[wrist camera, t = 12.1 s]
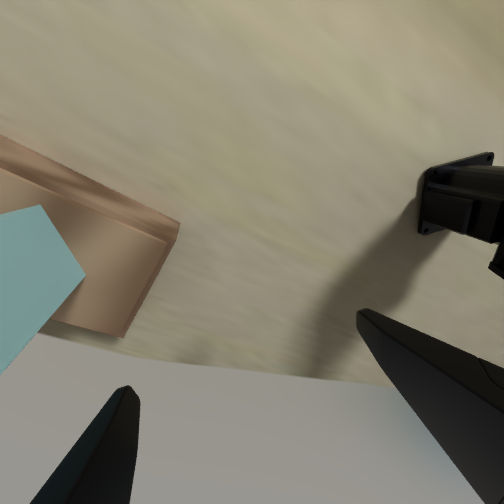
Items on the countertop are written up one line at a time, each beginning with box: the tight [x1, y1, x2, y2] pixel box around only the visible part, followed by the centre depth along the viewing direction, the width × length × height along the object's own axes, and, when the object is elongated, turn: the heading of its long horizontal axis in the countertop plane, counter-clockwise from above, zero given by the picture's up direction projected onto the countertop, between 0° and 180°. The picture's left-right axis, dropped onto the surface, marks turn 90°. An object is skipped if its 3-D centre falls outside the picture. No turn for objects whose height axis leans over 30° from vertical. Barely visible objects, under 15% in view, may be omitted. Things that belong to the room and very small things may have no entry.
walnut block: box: [0, 135, 180, 338], centre depth 15 cm, size 14×9×4 cm, turn 57°
